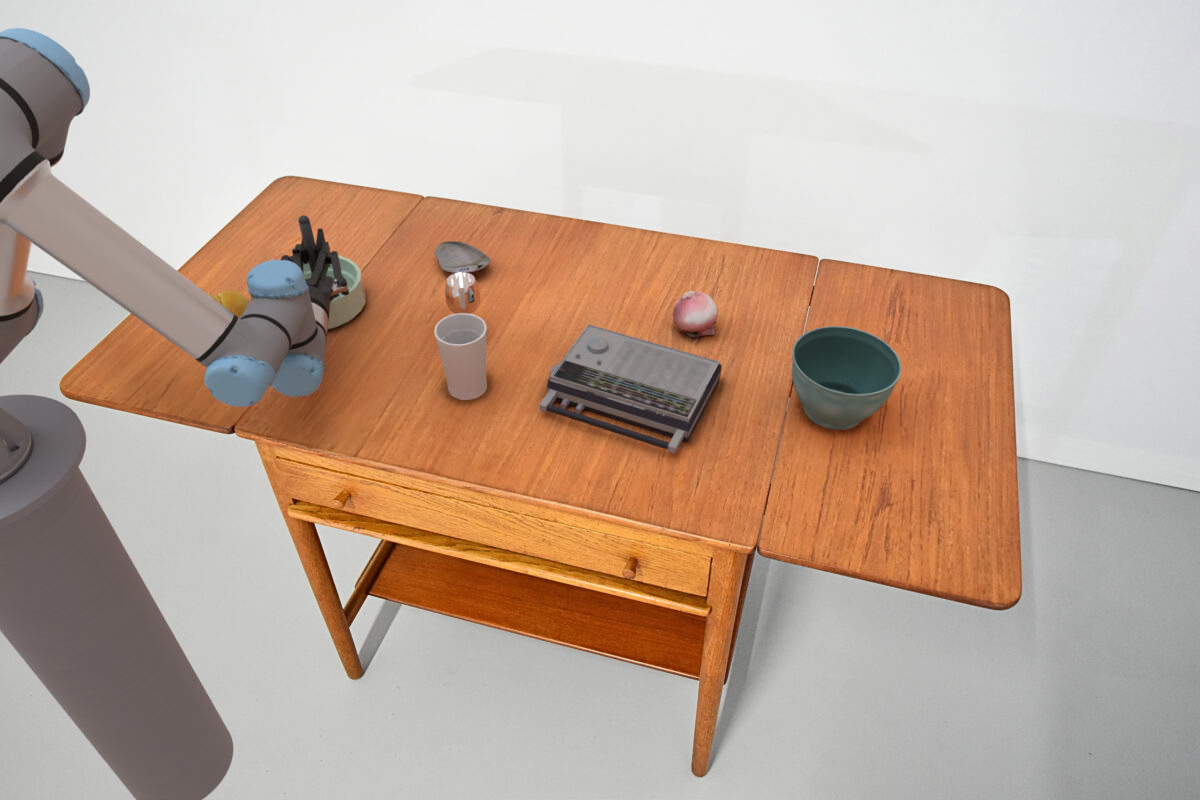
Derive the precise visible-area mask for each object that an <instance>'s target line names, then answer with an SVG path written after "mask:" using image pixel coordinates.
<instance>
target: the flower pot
mask: <svg viewBox="0 0 1200 800" xmlns="http://www.w3.org/2000/svg"><path fill="white" fill-rule="evenodd" d="M791 357H792V358H791V360H792V364H791V378H792V384H793V388H794V392H795V393H796V396H797V398H798V400H799V402H800V403H801V405H802V408H803V412H804V413H805V415H806V417H808V419H809V420H810V421H812V422H813V423H814V424H816V425H818V426H820V427H822V428H825V429H829V430H832V431H833V430H834V431H845V430H850V429H853V428H855V427H857V426H858V425H859V424H861V422H862V421H864V420H866V419H868V418H869V417H871V416H872V415H874V414H875V413H877V411H879V410H880V409H881V408H882V407H883V406H884V405H885V403H886V402H887V401H888V400H889V398H890V396H891V395H892V393H893V390H894V388H895V387H896V385H897V384H898V382H899V380H900V377H901V375H902V362H901V360H900V357H899V355H898V354H897V352H896V351H895V350H894V349H893V348H892V347H891V345H890V344H888V343H887V342H886V341H884V340H883V339H882V338H880V337H878V336H877V335H875V334H872V333H870V332H867V331H864V330H862V329H859V328H855V327H850V326H841V325H834V326H833V325H831V326H829V325H828V326H821V327H817V328H814V329H811V330H808V331H807V332H805V333H803V334H802V335H801V336H799V337H798V339H797V340H796V341H795V343H794V344H793V347H792V355H791Z"/></svg>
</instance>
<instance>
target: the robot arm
mask: <svg viewBox="0 0 1200 800" xmlns="http://www.w3.org/2000/svg"><path fill="white" fill-rule="evenodd" d="M90 96H91V87H90V82H89V80H88V77H87V74H86V73H85V71H84V69H83V68H82V67H81V66H80V65H79V64H78V63H77V61H76V58H75V56H73V54H71V53H70V52H69V51H68V50H67V49H66V48H65V47H64V46H63V45H61V44H60V43H58V42H57V41H56V40H54V39H52V38H51V37H49V36H48V35H45V34H43V33H42V32H39V31H35V30H32V29H29V28H25V27H24V28H23V27H22V28H21V27H12V28H7V29H4V30H2V31H0V365H1V364H2V363H3V362H4V361H5V360H6V359H7V357H8V356H9V355H10V354H11V353H12V352H13V351H14V349H15V348H17V346H18V345H19V344H20V343H21V342H22V341H23V339H24V338H26V337H28V336H29V334H30V333H32V331H33V330H35V328H36V327H37V325H38V323H39V320H40V319H41V317H42V315H43V312H44V305H45V303H44V297H43V293H42V291H41V289H39V288H36V286H37V283H36V282H35V280H34V279H33V278H32V277H31V276H30V274H29V273H28V271H27V270H28V265H29V259H30V254H31V249H32V244H33V245H34V246H36V247H37V248H38V249H40V250H42V251H43V252H44V253H46V255H48V256H50V257H51V258H52V259H54V260H56V261H57V262H58V263H60V264H61V265H62V266H64V267H65V268H67V269H68V270H70V271H71V272H72V273H74V274H75V275H76V276H78V277H80V278H81V279H82V280H83V281H85V282H86V283H88V284H89V285H90V286H92V287H93V288H94V289H96V290H98V291H99V292H100V293H102V294H103V295H104V296H106V297H108V298H109V299H110V300H111V301H113V302H114V303H116V305H119V306H120V307H121V308H123V309H124V310H125V311H127V312H129V313H130V314H131V315H133V316H134V317H136V318H137V319H138V320H140V321H141V322H143V324H145V325H147V326H148V327H149V328H151V329H152V330H154V331H155V332H156V333H158V334H160V335H161V336H162V337H163V338H164V339H166V340H167V341H169V342H170V343H172V344H174V345H175V347H177V348H179V349H180V350H182V351H183V352H184V353H185V354H188V355H189V356H190V357H192V358H193V359H194V360H196V361H197V362H198V363H199V364H201V365H202V366H204V367H205V368H206V370H205V374H204V378H203V380H204V385H205V387H206V388H207V389H208V390H209V392H210V395H211V396H212V397H213V398H215V399H216V400H217V401H219V402H220V403H222V404H224V405H227V406H231V407H236V408H247V407H251V406H253V405H255V404H257V403H260V401H261V400H262V399H263V397H264V395H265V394H266V392H267V391H268V389H269V388H270V386H271V387H272V388H273V389H274V390H275V391H276V392H277V393H279V394H280V395H282V396H285V397H292V398H302V397H309V396H310V395H312V394H314V393H315V392H316V391H317V390H319V388H320V387H321V385H322V383H323V378H324V374H325V371H326V367H325V364H326V363H325V362H326V352H327V351H326V350H327V340H328V331H329V329H328V320H329V312H330V303H331V301H332V300H333V299H334V295H336V294H339V293H341V294H342V295H348V294H349V289H348V285H347V280H346V279H345V278H344V277H343V276H342V272H341V266H340V262H339V257H338V255H339V252H338V251H336V250H332V251H331V248H330V244H329V242H328V241H326V238H325V234H324V230H323V227H322V228H317V231H316V239H315V240H316V241H315V244H316V248H315V250H316V254H317V262H316V266H315V269H314V272H312V275H311V278H309V279H305V278H304V272H303V264H308V258H307V254H306V250H305V246H304V242H303V238H302V237H301V241H300V242H301V243H297V244H295V246H294V248H292V250H291V253H292V255H288V254H284V255H282V256H281V257H280V259H269V260H265V261H262V262H260V263H258V264H257V265H255V266H253V267H252V268H251V269H250V270H249V271H248V274H247V275H246V284H247V291H248V294H249V296H250V301H249V304H248V306H247V307H246V309H245V311H244V312H243V314H242V315H241V317H240V318H239V317H237V316H236V315H235V314H233V313H231V312H230V311H229V310H228V309H226V308H225V307H224V306H222V305H221V304H220V303H218V302H217V301H216V300H215V299H213V298H212V297H211V296H209V295H210V294H208V293H207V292H206V291H204V289H202V288H201V287H199V286H198V285H196V283H195V282H193V281H192V280H190V279H188V278H187V277H186V276H185V275H184V274H182V273H181V272H180V271H179V270H177V269H176V268H174V267H173V266H172V265H170V264H169V263H168V262H167V261H166V260H164V259H163V258H161V257H160V256H159V255H157V254H156V253H155V252H154V251H152V250H151V249H150V248H148V247H147V246H146V245H144V244H143V243H142V242H141V241H139V240H138V239H137V238H136V237H134V236H133V235H131V234H130V233H129V232H128V231H126V230H124V228H123V227H122V226H119V225H118V224H117V223H116V222H115V221H113V220H112V219H111V218H109V217H108V216H107V215H106V214H104V213H103V212H102V211H100V210H99V209H97V208H96V207H95V206H94V205H93V204H91V203H90V202H88V201H87V200H86V199H85V198H84V197H82V196H81V195H79V194H78V193H77V192H75V191H74V190H73V189H72V188H71V187H69V186H68V185H66V184H65V183H64V182H62V181H61V180H60V179H58V177H56V176H55V175H54V174H53V173H52V168H53V167H54V166H56V165H57V164H58V163H60V161H61V160H62V159H63V157H64V153H65V148H66V143H67V139H68V134H69V131H70V130H69V129H70V126H71V123H72V122H73V120H74V119H75V117H77V116H79V115H81V114H82V113H83V112H84V110H85V108H86V107H87V105H88V104H89V101H90ZM330 264H332V267H333V273H334V277H335V279H334V283H333V287H330V286H329V285H327V284H326V283H325V279H326V275H327V271H328V267H330ZM33 446H34V444H33V439H32V436H31V435H30V433H29V431H28V430H27V428H26V427H25V426H24V425H23V424H22V423H21V422H20V421H19V420H17V419H16V418H15V417H13V416H12V415H10V414H9V413H8V412H6V411H5V410H4V409H2V408H1V407H0V484H2V483H3V482H5V481H7V480H8V479H10V478H11V477H12V476H14V475H15V474H16V473H17V472H18V471H19V470H20V469H21V468H22V467H23V466H24V465H25V464H26V463H27V461H28V460H29V458H30V456H31V454H32V451H33Z"/></svg>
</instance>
